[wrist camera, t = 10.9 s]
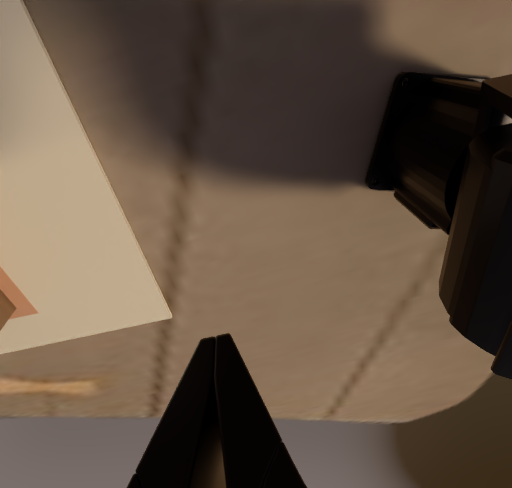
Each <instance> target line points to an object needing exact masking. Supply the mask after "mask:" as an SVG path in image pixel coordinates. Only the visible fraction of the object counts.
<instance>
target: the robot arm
mask: <svg viewBox="0 0 512 488" xmlns="http://www.w3.org/2000/svg"><path fill="white" fill-rule="evenodd" d="M405 78H407V79H408V82H407V84H406V86H404V87H403V86H402V82H403V80H404V79H405ZM375 178H377V180H376V182H374V183H372V181H373V179H375ZM365 183H366V185H367V186H368V187H369V188H370V189H375V190H395V192H394V197H395V198H396V200H398V201H399V202H400V203H401V204H402V205H403V206H404V207H405V208H407V209H408V210H409V211H410V212H411V213H412V214H413V215H414V216H416V217H417V218H418V219H419V220H420V221H421V222H422V223H423V224H425V225H426V226H427V227H428V228H430V229H442V230H443V231H444V232H445V233H446V234H448V235H449V238H448V242H447V247H446V251H445V256H444V260H443V265H442V270H441V275H440V279H439V297H440V299H441V301H442V303H443V305H444V307H445V309H446V311H447V313H448V314H449V315H450V318H449V321H450V323H451V325H452V326H454V327H455V328H456V329H457V330H458V331H459V332H460V333H461V334H462V335H463V336H464V337H465V338H467V339H468V340H470V341H471V342H473V343H474V344H476V345H477V346H479V347H480V348H482V349H483V350H485V351H486V352H488V353H490V354H492V355H494V356H496V357H495V359H494V361H493V364H492V366H491V370H492V371H493V373H495V374H497V375H500V376H503V377H506V378H509V379H512V74H510V75H506V76H501V77H496V78H491V79H478V78H468V77H457V76H447V75H437V74H427V73H416V72H402V73H400V74H399V75H398V76H397V77H396V79H395V81H394V84H393V88H392V91H391V94H390V98H389V101H388V104H387V108H386V111H385V115H384V118H383V121H382V125H381V128H380V132H379V135H378V138H377V142H376V145H375V149H374V152H373V155H372V159H371V162H370V166H369V169H368V172H367V176H366V179H365ZM127 488H307V486H306V485H305V483H304V481H303V479H302V478H301V476H300V474H299V472H298V470H297V468H296V466H295V464H294V463H293V461H292V459H291V457H290V455H289V453H288V451H287V449H286V447H285V445H284V443H283V442H282V439H281V437H280V435H279V433H278V430H277V428H276V427H275V424H274V422H273V420H272V418H271V416H270V414H269V412H268V410H267V408H266V406H265V404H264V402H263V400H262V398H261V396H260V394H259V392H258V390H257V388H256V385H255V383H254V381H253V379H252V377H251V375H250V373H249V371H248V369H247V367H246V365H245V363H244V361H243V359H242V357H241V355H240V353H239V351H238V349H237V347H236V345H235V343H234V341H233V338H232V336H231V335H230V334H229V333H227V334H222V335H218V336H216V338H215V337H208V338H203V339H201V340H200V342H199V344H198V346H197V348H196V350H195V352H194V354H193V356H192V358H191V360H190V362H189V364H188V366H187V368H186V370H185V372H184V374H183V376H182V378H181V380H180V382H179V384H178V386H177V388H176V390H175V392H174V394H173V396H172V398H171V400H170V402H169V404H168V406H167V408H166V410H165V412H164V414H163V416H162V418H161V420H160V422H159V424H158V426H157V428H156V430H155V432H154V435H153V437H152V438H151V441H150V442H149V444H148V446H147V448H146V451H145V453H144V454H143V456H142V459H141V461H140V463H139V465H138V467H137V469H136V474H134V475H133V476H132V478H131V480H130V482H129V484H128V487H127Z"/></svg>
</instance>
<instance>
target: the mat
mask: <svg viewBox="0 0 512 488" xmlns="http://www.w3.org/2000/svg"><path fill="white" fill-rule="evenodd" d="M0 290H1V291H2V292H3V293H4V294H5V295H6V296H7V298H8V299H9V300H10V301H11V302H12V303H13V304H14V306H15V307H16V310H15V311H14V313H13V314H12V315H11V317H10V318H9V320H8V321H7V322H6V324H5V325H4V326H3V328H2V329H1V331H0V354H4V353H8V352H13V351H18V350H23V349H27V348H32V347H37V346H42V345H46V344H51V343H56V342H61V341H65V340H70V339H75V338H79V337H84V336H89V335H94V334H98V333H103V332H108V331H113V330H117V329H122V328H127V327H132V326H136V325H141V324H146V323H150V322H155V321H160V320H165V319H169V318H172V313H171V311H170V309H169V307H168V305H167V303H166V301H165V299H164V297H163V294H162V292H161V290H160V288H159V286H158V284H157V282H156V280H155V278H154V276H153V273H152V271H151V269H150V267H149V265H148V263H147V261H146V259H145V257H144V254H143V252H142V250H141V248H140V246H139V244H138V242H137V240H136V238H135V235H134V233H133V231H132V229H131V227H130V225H129V223H128V221H127V219H126V217H125V214H124V212H123V210H122V208H121V206H120V204H119V202H118V200H117V198H116V195H115V193H114V191H113V189H112V187H111V185H110V183H109V181H108V179H107V177H106V174H105V172H104V170H103V168H102V166H101V164H100V162H99V160H98V158H97V155H96V153H95V151H94V149H93V147H92V145H91V143H90V141H89V139H88V137H87V134H86V132H85V130H84V128H83V126H82V124H81V122H80V120H79V118H78V115H77V113H76V111H75V109H74V107H73V105H72V103H71V101H70V99H69V97H68V94H67V92H66V90H65V88H64V86H63V84H62V82H61V80H60V78H59V75H58V73H57V71H56V69H55V67H54V65H53V63H52V61H51V59H50V57H49V54H48V52H47V50H46V48H45V46H44V44H43V42H42V40H41V38H40V35H39V33H38V31H37V29H36V27H35V25H34V23H33V21H32V19H31V17H30V14H29V12H28V10H27V8H26V6H25V4H24V2H23V0H0Z"/></svg>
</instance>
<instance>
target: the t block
mask: <svg viewBox="0 0 512 488" xmlns="http://www.w3.org/2000/svg"><path fill="white" fill-rule="evenodd" d="M15 310H16V307H15V306H14V304H13V303H12V302H11V301H10V300H9V299H8V298H7V296H6V295H5V294H4V293H3V292H2V291H1V290H0V331H1V329H2V328H3V326H4V325H5V324H6V322H7V321H8V320H9V318H10V317H11V315H12V314H13V313H14V311H15Z"/></svg>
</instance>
